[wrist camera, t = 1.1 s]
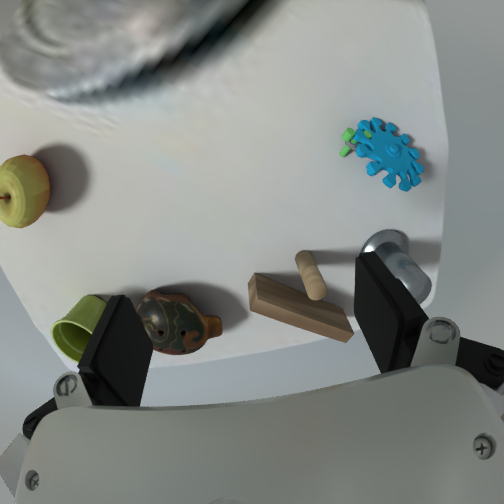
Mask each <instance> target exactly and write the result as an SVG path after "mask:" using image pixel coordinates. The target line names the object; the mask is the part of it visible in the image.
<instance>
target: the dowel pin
mask: <svg viewBox="0 0 504 504" xmlns="http://www.w3.org/2000/svg"><path fill="white" fill-rule="evenodd" d="M295 261H296V264H297V266H298V269H299V272H300V275H301V277H302V280H303V283H304V286H305V289H306V291H307V294H308V297H309V298H310V299H312V300H320V299H322V298H324V297H325V296H326V294H327V292H328V288H327V286H326V284H325V282H324V280H323V277H322V275H321V273H320V271H319V269H318V267H317V265H316V263H315V261H314V258H313V256H312V254H311V253H310V252H309V251H306V250H303V251H300V252H299V253H297V255H296V257H295Z"/></svg>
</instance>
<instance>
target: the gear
mask: <svg viewBox="0 0 504 504" xmlns="http://www.w3.org/2000/svg"><path fill="white" fill-rule="evenodd" d="M381 124H382V122H381V120H379V119H377V118H374V117H373V118H372V120H371V121H370V123H369V122H368V121H367V120H362V121H360V122H359V124H358V128H359V129H357V130H356V132H355V131H354V130H353V129H351V128H347V130H346V131H345V132H344V134H343V135H342V139H343V140H344V141H345V144H346V146H345V147H344V148H343V150H342V151H341V152H340V155H341V156H342V157H345V155H346V154H347V153H348V152H349V151H350V149H353V150H355V151H356V154H357V156H358V157H361V158H363V157H368V158H370V159H372V160H374V161H376V162H374V161H371V162H370V163H369V164H368V165H367V166H366V167H367V173H368V175H370V176H373V175H375V174H376V173H377V172H378V171H379V170H386V171H387V172H388V173H389V174H388V175H387V176H386V177H385V178H384V179H383V183H384V184H385V185H386V186H387V187H389V188H392V187H393V186H394V185H395V184H396V175H399V176H400V178H401V182H400V183H399V188H400V190H402V191H406V192H407V191H409V190H410V189H411V188H412V186H413V187H414V186H417V185H418V184H419V183H421V182H422V180H421V178H420V177H419V176H418V175H420V174H421V173H422V172H423V170H424V167H423V166H422V165H421V164H420V163H418V162H416V161H415V160H417V159H418V158H419V157H420V155H419V152H418V150H417V149H415V148H414V149H411V148H408V147H406V146H405V145H407V144H408V143H409V142H410V140H409V138H408V137H407V135H406V134H402V135H401V136H400V137H395V136H393V135H392V134H393V133H394V132H395V131H396V127H395V126H394V125H393V124H391V123H390V122H389V123H388V124H387V125H386V126H385V132H384V131H382V130H381V129H380V125H381ZM370 125H371V126H372V128H373V130H374V132H373V131H371V129H370ZM407 174H408V175H409V177H410V182H409V179H408V176H407ZM411 185H412V186H411Z"/></svg>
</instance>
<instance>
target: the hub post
mask: <svg viewBox="0 0 504 504" xmlns="http://www.w3.org/2000/svg"><path fill="white" fill-rule="evenodd" d="M369 251H375V252H376V254H377V255H378V256H379V257H380V259H381V260H382V261H383V262H384V264H385V265H386V266H387V267H388V269H389V270H390V271H391V273H392V274H393V275H394V276H395V278H398V279H400V280H401V281H402V282H403V284H404V285H405V286H406V288H407V289H408V290H409V292H410V293H411V294H412V296H413V297H414V298H415V300H416V301H417V303H418V304H419V305H420V304H421V303H422V302H423V301H424V300H425V299H426V298H427V297H428V295H429V293H430V291H431V287H432V283H431V280H430V278H429V277H428V276H427V275H426V274H425V273H424V272H423V271H422V270H421V269H420V267H419V266H418V265H417V264H416V263H415V262H414V261H413V260H412V259H411V258H410V257H409V256H408V244H407V241H406V239H405V238H404V237H403V236H402V235H401V234H400V233H399V232H397V231H395V230H383V231H380V232H378V233H376V234H374V235H373V236H372V237H370V238H369V239H368V240H367V242H366V243H365V245H364V246H363V248H362V251H361V253H364V252H369Z"/></svg>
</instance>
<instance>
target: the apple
mask: <svg viewBox="0 0 504 504" xmlns="http://www.w3.org/2000/svg"><path fill="white" fill-rule="evenodd" d="M50 187H51V185H50V181H49V176H48V173H47V171H46V169H45V167H44V165H43V164H42V163H41V162H39V161H38V160H37V159H36V158H34V157H31V156H28V155H25V154H24V155H20V156H16V157H13V158H10V159H8V160H6V161H5V162H4V163H3V164H2V165H1V166H0V220H1V221H2V222H4V223H5V224H6V225H8V226H10V227H15V228H23V227H26V226H29V225H31V224H32V223H34V222H35V221H36V220H38V219H39V217H40V216H41V215H42V214H43V213H44V212H45V209H46V206H47V204H48V201H49V198H50Z"/></svg>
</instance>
